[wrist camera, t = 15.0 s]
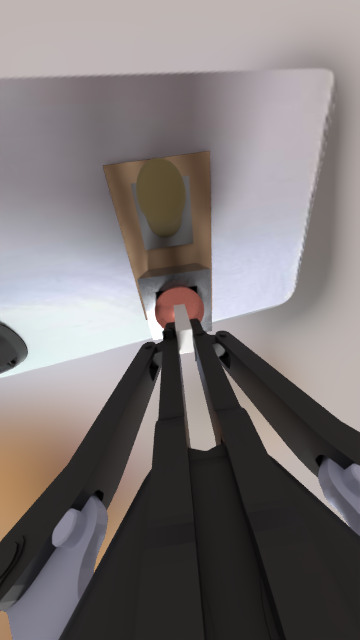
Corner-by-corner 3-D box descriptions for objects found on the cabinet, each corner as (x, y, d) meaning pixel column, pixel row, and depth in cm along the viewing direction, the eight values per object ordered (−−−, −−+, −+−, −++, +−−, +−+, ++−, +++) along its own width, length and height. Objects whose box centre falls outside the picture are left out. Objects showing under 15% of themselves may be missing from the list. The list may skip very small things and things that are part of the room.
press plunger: (162, 312, 28) (159, 336, 20) (155, 278, 25) (149, 292, 17) (194, 307, 28) (205, 330, 20) (192, 273, 25) (203, 284, 17)
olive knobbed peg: (178, 188, 21) (186, 132, 11) (184, 233, 24) (196, 220, 14) (140, 197, 21) (116, 150, 11) (152, 241, 24) (140, 233, 14)
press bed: (147, 316, 33) (145, 321, 31) (108, 172, 21) (100, 163, 19) (209, 307, 33) (212, 311, 31) (206, 159, 21) (211, 148, 19)
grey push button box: (157, 314, 31) (153, 339, 22) (147, 270, 26) (136, 279, 18) (199, 308, 31) (211, 330, 22) (196, 262, 27) (210, 268, 18)
